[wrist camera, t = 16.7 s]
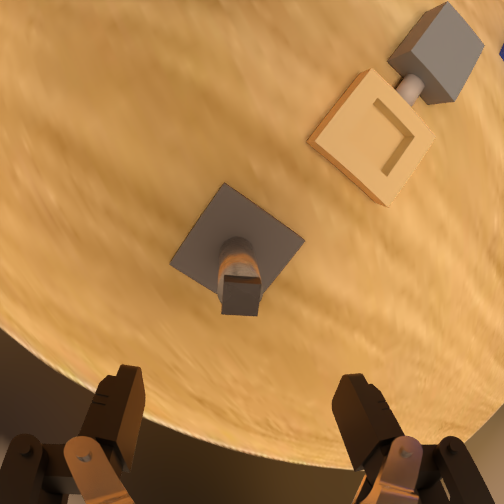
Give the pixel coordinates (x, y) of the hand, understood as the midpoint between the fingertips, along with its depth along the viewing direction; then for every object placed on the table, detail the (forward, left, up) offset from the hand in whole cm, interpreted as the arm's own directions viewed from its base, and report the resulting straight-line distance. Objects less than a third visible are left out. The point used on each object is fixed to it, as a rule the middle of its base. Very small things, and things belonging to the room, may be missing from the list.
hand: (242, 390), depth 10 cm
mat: (+1, -1, -20) cm, 20 cm away
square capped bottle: (+1, -1, -20) cm, 20 cm away
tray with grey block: (+5, +25, -20) cm, 33 cm away
